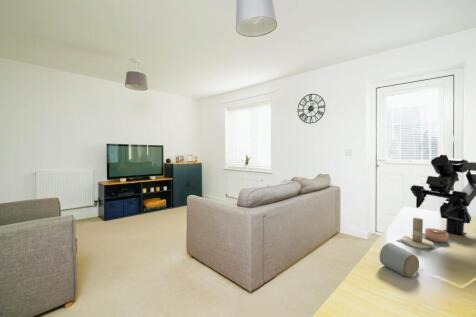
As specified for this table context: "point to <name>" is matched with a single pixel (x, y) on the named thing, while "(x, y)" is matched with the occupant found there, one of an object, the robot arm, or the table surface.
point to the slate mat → (436, 244)
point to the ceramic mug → (399, 259)
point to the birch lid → (417, 236)
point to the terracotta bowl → (436, 235)
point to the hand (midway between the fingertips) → (429, 210)
